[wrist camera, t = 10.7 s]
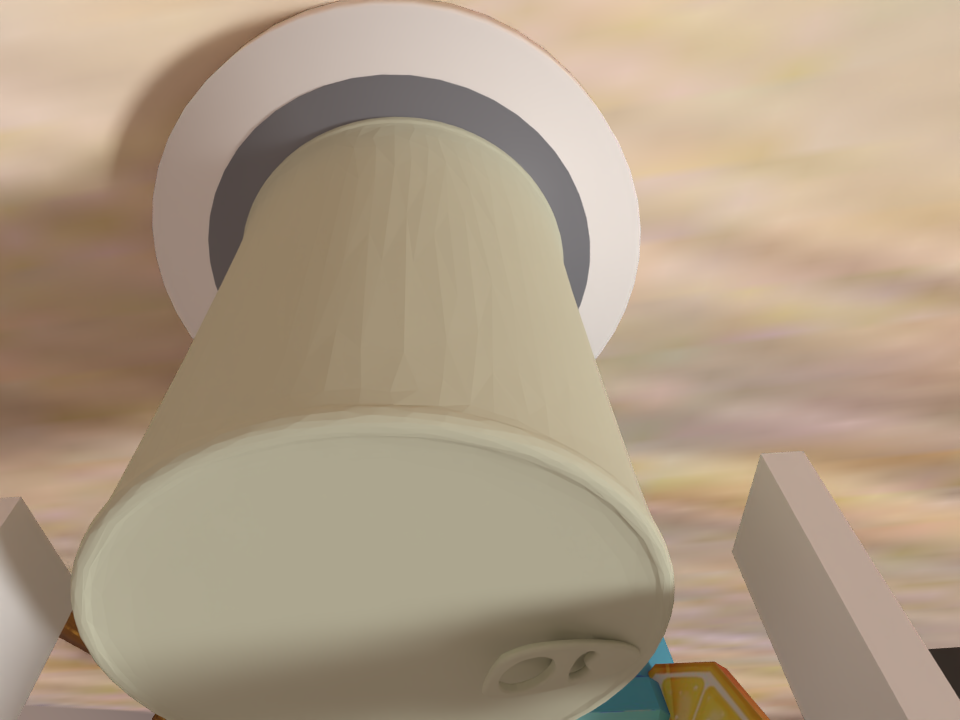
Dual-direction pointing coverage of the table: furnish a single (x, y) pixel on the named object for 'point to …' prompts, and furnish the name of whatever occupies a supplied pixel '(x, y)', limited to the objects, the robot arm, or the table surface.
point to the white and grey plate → (393, 93)
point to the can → (381, 464)
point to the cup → (679, 694)
